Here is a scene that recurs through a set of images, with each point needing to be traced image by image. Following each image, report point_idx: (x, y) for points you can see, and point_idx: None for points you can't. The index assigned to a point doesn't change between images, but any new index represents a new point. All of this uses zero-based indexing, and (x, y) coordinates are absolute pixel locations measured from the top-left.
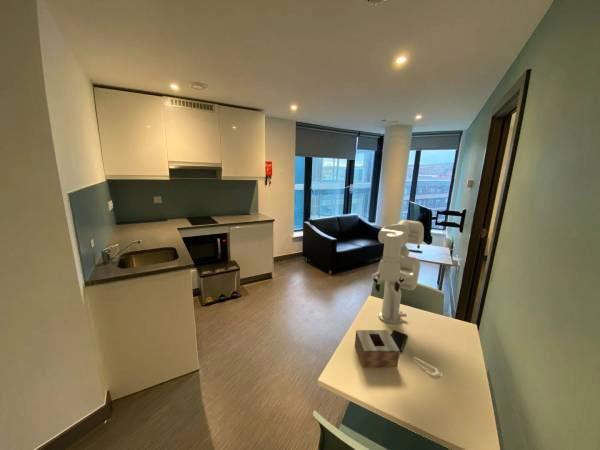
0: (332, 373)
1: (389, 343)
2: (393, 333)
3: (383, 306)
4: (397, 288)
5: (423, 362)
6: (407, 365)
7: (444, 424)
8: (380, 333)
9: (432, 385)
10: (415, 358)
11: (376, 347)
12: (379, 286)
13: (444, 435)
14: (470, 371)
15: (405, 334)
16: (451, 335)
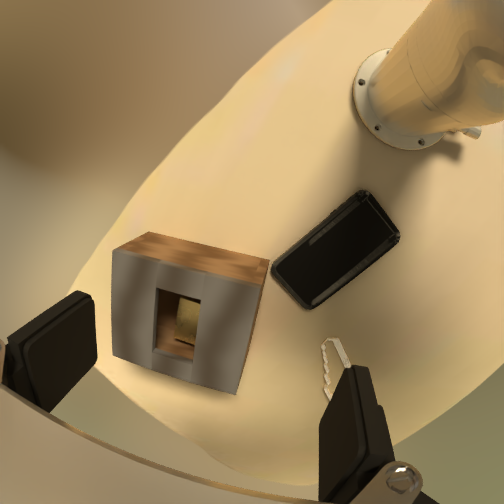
0: None
1: (217, 359)
2: (349, 209)
3: (382, 71)
4: (324, 459)
5: (344, 364)
6: (286, 355)
7: (254, 461)
8: (210, 300)
9: (304, 414)
10: (334, 344)
11: (156, 359)
12: (53, 401)
13: (239, 467)
14: (440, 398)
15: (396, 231)
16: None
